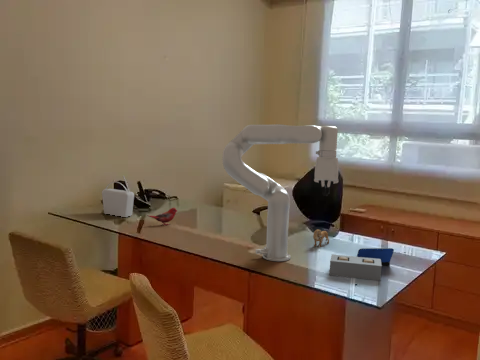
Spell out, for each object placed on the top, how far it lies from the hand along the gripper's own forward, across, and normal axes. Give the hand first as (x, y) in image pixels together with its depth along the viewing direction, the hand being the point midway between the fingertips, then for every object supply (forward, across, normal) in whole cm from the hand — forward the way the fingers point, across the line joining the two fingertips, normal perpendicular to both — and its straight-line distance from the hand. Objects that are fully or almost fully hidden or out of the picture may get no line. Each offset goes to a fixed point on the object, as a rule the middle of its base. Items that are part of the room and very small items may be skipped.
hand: (325, 195), depth 217 cm
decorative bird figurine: (+29, -93, +36) cm, 103 cm away
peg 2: (+29, +20, -17) cm, 39 cm away
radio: (+29, -128, +52) cm, 142 cm away
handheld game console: (+30, +21, 0) cm, 36 cm away
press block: (+29, +15, -17) cm, 37 cm away
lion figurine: (+29, -2, +24) cm, 38 cm away
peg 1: (+29, +10, -17) cm, 35 cm away
